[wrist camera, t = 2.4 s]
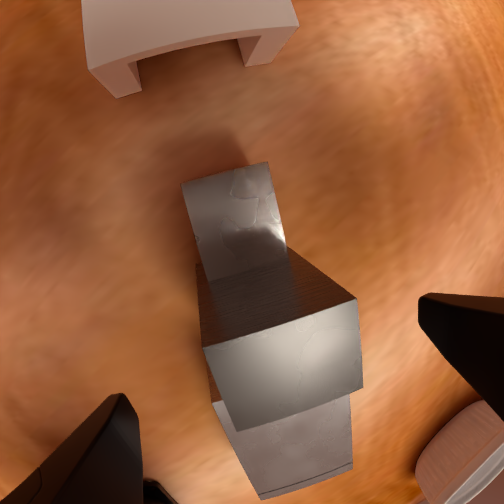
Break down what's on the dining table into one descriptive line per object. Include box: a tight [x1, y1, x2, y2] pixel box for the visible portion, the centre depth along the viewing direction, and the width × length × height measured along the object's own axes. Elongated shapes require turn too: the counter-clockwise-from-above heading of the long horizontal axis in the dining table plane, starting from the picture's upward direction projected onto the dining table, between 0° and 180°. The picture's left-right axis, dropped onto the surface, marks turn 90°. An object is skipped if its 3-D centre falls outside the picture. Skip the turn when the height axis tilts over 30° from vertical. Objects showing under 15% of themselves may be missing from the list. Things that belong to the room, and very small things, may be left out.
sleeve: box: [206, 359, 353, 500], centre depth 14 cm, size 9×6×4 cm, turn 14°
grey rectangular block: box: [81, 0, 300, 99], centre depth 9 cm, size 4×7×4 cm, turn 104°
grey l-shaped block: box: [181, 162, 363, 432], centre depth 11 cm, size 16×4×7 cm, turn 14°
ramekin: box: [415, 400, 504, 504], centre depth 20 cm, size 13×13×7 cm
